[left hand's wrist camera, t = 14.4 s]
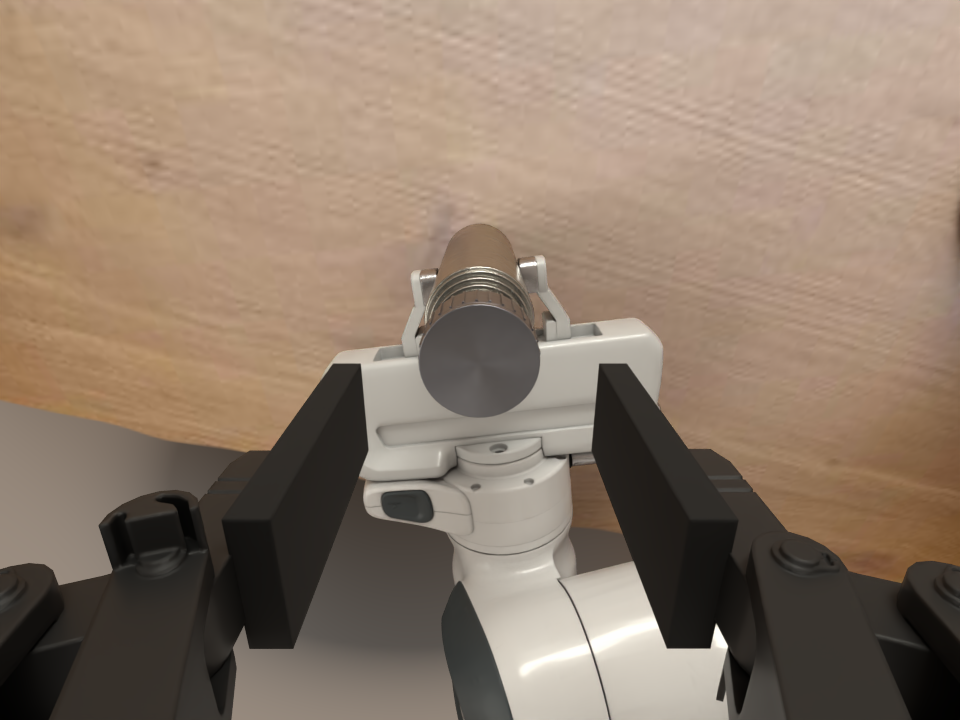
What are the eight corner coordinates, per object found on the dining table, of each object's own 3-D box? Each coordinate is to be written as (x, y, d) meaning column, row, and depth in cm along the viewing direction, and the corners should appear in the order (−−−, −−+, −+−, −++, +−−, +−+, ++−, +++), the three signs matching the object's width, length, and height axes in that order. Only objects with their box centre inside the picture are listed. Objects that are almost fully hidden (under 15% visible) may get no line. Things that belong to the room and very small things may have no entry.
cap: (532, 283, 19) (538, 296, 17) (539, 390, 20) (545, 414, 18) (414, 294, 19) (407, 309, 17) (430, 400, 20) (425, 424, 18)
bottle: (510, 220, 35) (543, 286, 17) (515, 288, 37) (550, 414, 19) (441, 227, 35) (401, 300, 17) (449, 295, 37) (421, 425, 19)
